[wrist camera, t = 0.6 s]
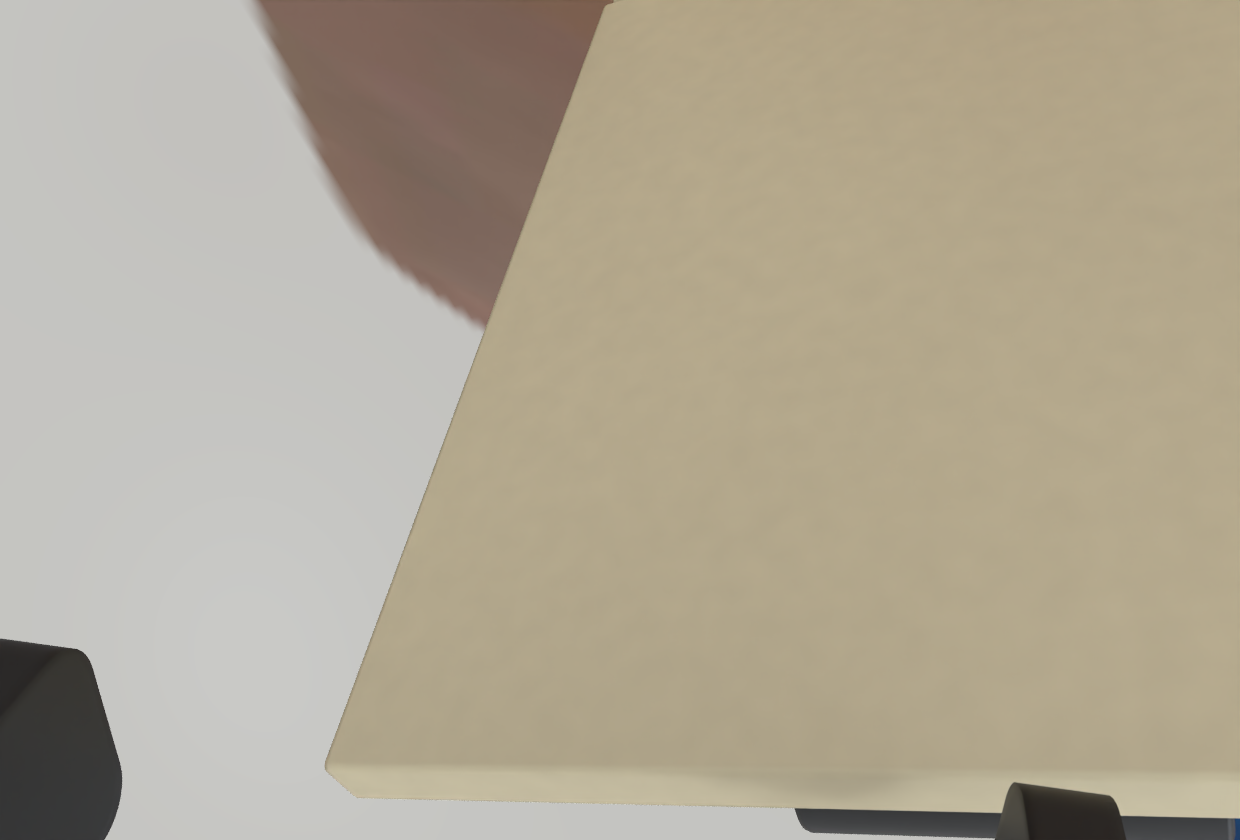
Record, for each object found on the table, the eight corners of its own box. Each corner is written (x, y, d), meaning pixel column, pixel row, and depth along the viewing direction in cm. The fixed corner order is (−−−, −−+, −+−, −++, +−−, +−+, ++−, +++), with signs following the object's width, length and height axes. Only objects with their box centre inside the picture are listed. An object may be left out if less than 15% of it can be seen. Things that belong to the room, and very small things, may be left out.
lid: (319, 769, 13) (505, 934, 17) (1976, 788, 8) (1762, 1026, 11) (603, 3, 24) (682, 199, 27) (1398, -205, 18) (1375, 70, 22)
